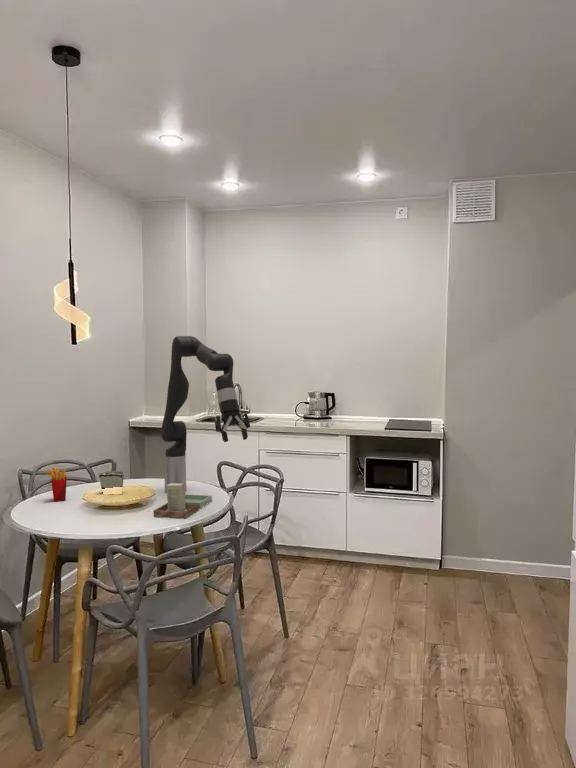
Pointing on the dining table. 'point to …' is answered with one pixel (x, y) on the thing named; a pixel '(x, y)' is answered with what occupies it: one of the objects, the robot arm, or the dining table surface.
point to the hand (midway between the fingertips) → (235, 440)
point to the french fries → (58, 484)
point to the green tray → (198, 499)
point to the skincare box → (176, 497)
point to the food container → (111, 479)
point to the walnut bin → (173, 514)
